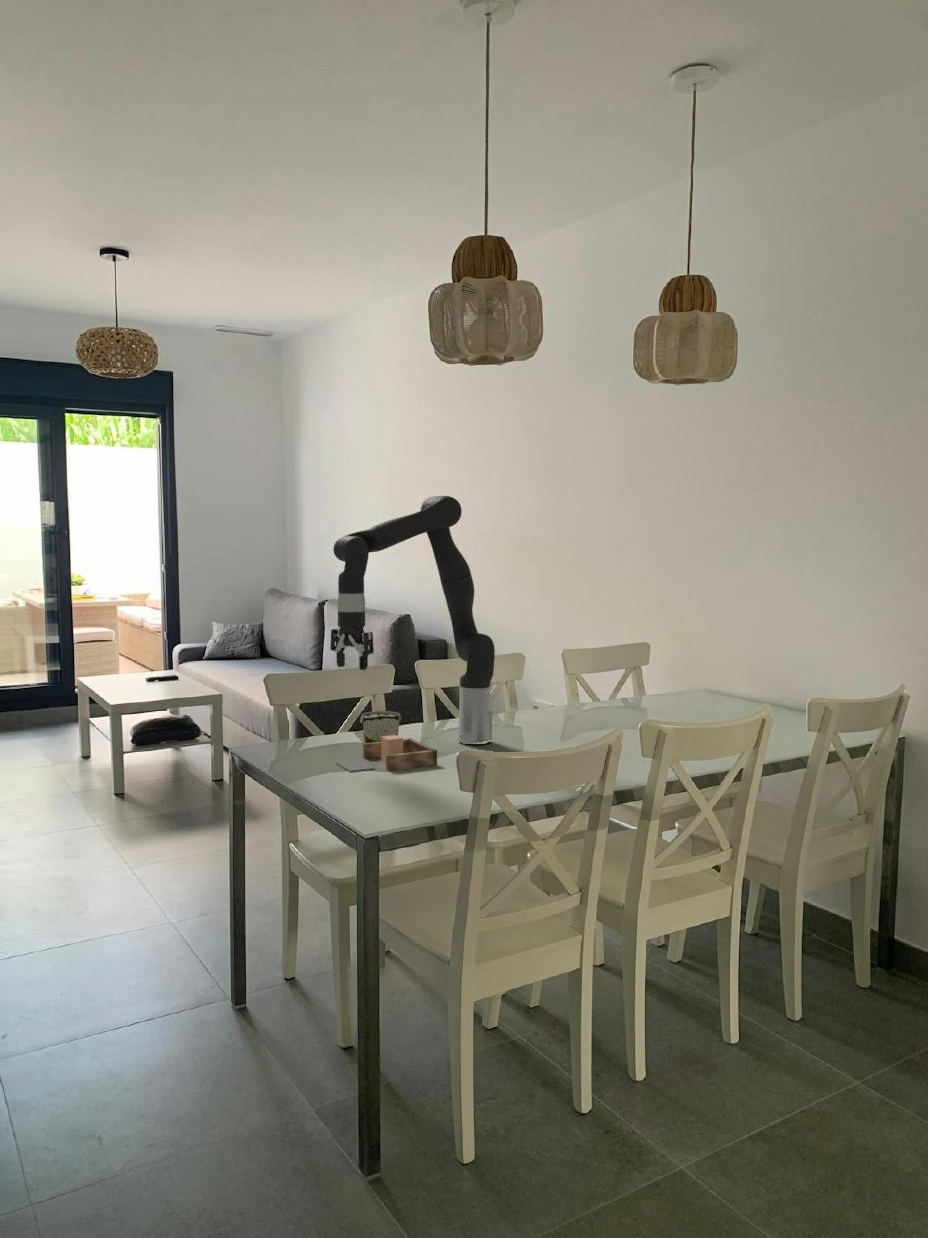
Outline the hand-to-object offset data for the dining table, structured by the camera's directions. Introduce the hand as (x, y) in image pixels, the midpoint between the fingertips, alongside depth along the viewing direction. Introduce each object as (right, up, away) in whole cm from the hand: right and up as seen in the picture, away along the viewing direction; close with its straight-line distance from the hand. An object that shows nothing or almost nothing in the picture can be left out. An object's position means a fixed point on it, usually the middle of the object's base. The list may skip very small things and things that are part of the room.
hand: (351, 668), depth 265 cm
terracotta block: (+11, -26, 0) cm, 28 cm away
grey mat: (+1, -26, -5) cm, 27 cm away
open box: (+13, -26, +1) cm, 29 cm away
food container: (+6, -24, +19) cm, 31 cm away
